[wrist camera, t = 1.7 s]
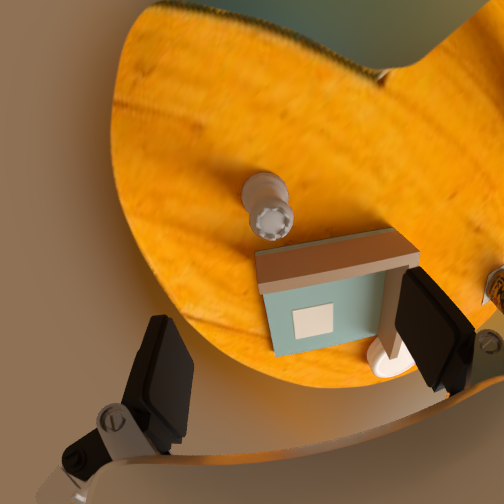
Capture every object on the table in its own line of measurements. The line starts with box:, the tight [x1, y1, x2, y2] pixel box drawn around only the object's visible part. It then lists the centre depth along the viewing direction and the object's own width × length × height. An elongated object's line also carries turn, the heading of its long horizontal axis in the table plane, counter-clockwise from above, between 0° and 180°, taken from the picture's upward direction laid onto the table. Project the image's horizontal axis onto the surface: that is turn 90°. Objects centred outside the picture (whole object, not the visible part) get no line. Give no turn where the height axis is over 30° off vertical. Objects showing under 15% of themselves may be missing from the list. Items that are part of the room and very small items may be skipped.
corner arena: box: [255, 227, 420, 360], centre depth 29 cm, size 16×16×6 cm
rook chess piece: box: [241, 172, 294, 241], centre depth 22 cm, size 4×4×8 cm
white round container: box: [367, 336, 415, 378], centre depth 36 cm, size 10×10×4 cm
